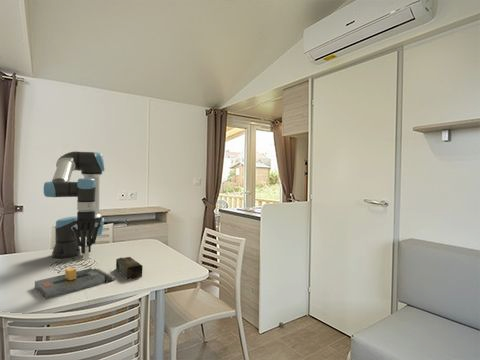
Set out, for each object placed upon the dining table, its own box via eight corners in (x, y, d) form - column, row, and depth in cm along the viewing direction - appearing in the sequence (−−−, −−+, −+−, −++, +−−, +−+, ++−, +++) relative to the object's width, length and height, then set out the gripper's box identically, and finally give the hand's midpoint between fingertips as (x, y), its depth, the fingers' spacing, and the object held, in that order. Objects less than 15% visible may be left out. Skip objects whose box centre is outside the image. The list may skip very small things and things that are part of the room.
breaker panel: (34, 287, 127) (34, 281, 126) (90, 274, 145) (90, 267, 145) (45, 299, 116) (45, 291, 116) (104, 282, 134) (104, 276, 134)
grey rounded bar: (92, 273, 145) (92, 269, 145) (100, 271, 148) (100, 267, 148) (107, 282, 134) (107, 277, 134) (115, 280, 137) (115, 275, 137)
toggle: (65, 277, 131) (65, 269, 131) (72, 275, 133) (72, 267, 133) (69, 280, 128) (69, 271, 127) (76, 278, 130) (76, 270, 130)
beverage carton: (130, 266, 158) (130, 255, 158) (143, 277, 143) (143, 264, 143) (115, 269, 153) (115, 257, 153) (127, 280, 138) (127, 267, 138)
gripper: (74, 212, 127) (73, 264, 127) (103, 210, 137) (103, 258, 137) (68, 211, 132) (67, 261, 132) (97, 208, 142) (96, 255, 142)
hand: (85, 259), depth 135 cm, fingers closed
